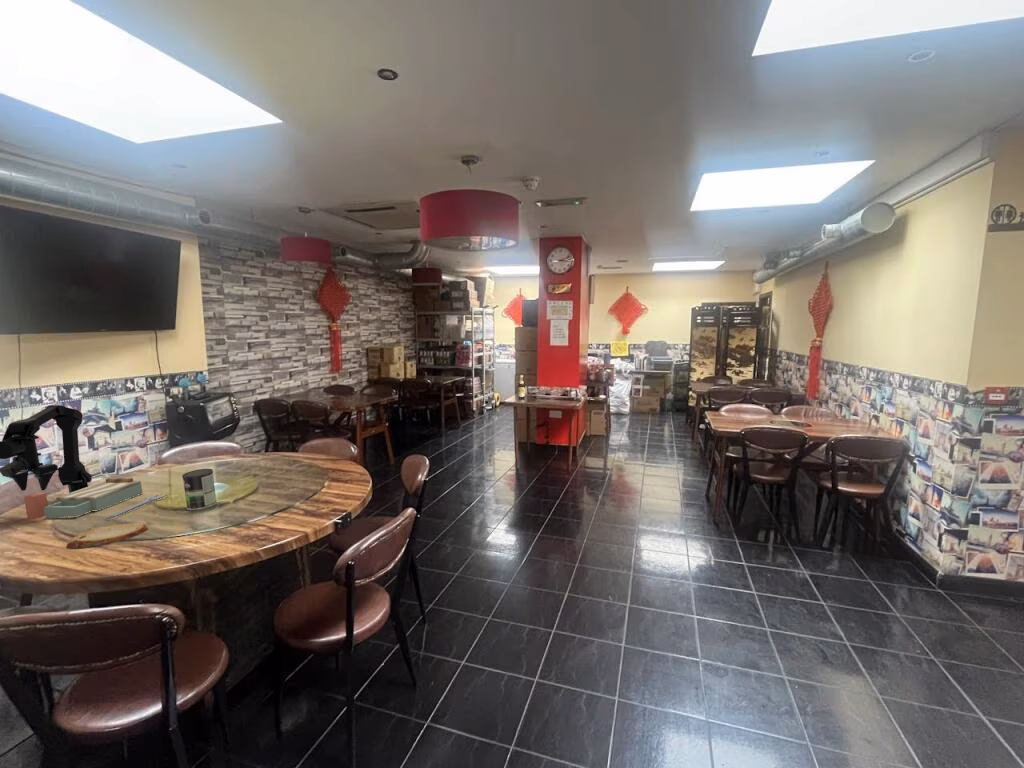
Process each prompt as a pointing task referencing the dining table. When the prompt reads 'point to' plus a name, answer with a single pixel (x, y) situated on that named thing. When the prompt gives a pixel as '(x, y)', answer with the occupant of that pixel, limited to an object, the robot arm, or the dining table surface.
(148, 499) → the adjustable wrench
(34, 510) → the red rectangular block
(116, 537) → the bread slice
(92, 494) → the slatted box lid
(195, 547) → the dining table surface
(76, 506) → the grey-green open box
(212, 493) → the coffee can
